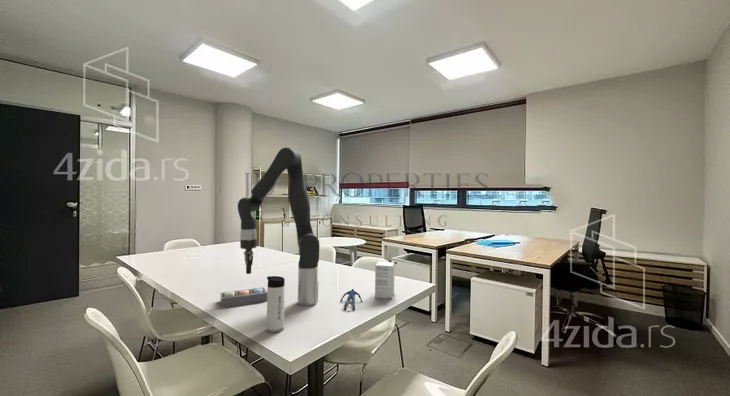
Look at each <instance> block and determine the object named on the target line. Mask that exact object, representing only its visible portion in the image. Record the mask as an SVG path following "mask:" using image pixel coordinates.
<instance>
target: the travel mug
mask: <svg viewBox="0 0 730 396" xmlns="http://www.w3.org/2000/svg"><path fill="white" fill-rule="evenodd" d="M266 280H267V290H266V292H267V301H266V331H267V332H268V333H270V334H276V333H280V332H282V331H283V330H284V329H285V325H284V324H285V291H286V290H285V289H286V288H285V287H286V284H285V280H286V279H285V277H282V276H277V275H276V276H275V275H271V276H270V275H268V276H267V277H266Z"/></svg>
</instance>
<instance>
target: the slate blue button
mask: <svg viewBox="0 0 730 396" xmlns="http://www.w3.org/2000/svg"><path fill="white" fill-rule="evenodd" d="M262 288H263V287H257V288H256V289H255V288H252V289H253V293H260V292H263V289H262Z"/></svg>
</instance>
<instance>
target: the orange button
mask: <svg viewBox="0 0 730 396" xmlns="http://www.w3.org/2000/svg"><path fill="white" fill-rule="evenodd" d="M240 290H241V291H239V290H238V291H239V295H245V294H249V290H247V289H240Z"/></svg>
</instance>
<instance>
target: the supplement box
mask: <svg viewBox="0 0 730 396" xmlns="http://www.w3.org/2000/svg"><path fill="white" fill-rule="evenodd" d="M395 264H396V263H395V262H392V261H389V262H388V261H377V262H376V264H375V269H374V270H375V271H374V272H375V274H374V275H375V276H374V278H375V280H374V283H375V285H374V287H375V288H374V296H375V297H380V298H379V299H386V298H394V295H395ZM375 297H374V298H375Z"/></svg>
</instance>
